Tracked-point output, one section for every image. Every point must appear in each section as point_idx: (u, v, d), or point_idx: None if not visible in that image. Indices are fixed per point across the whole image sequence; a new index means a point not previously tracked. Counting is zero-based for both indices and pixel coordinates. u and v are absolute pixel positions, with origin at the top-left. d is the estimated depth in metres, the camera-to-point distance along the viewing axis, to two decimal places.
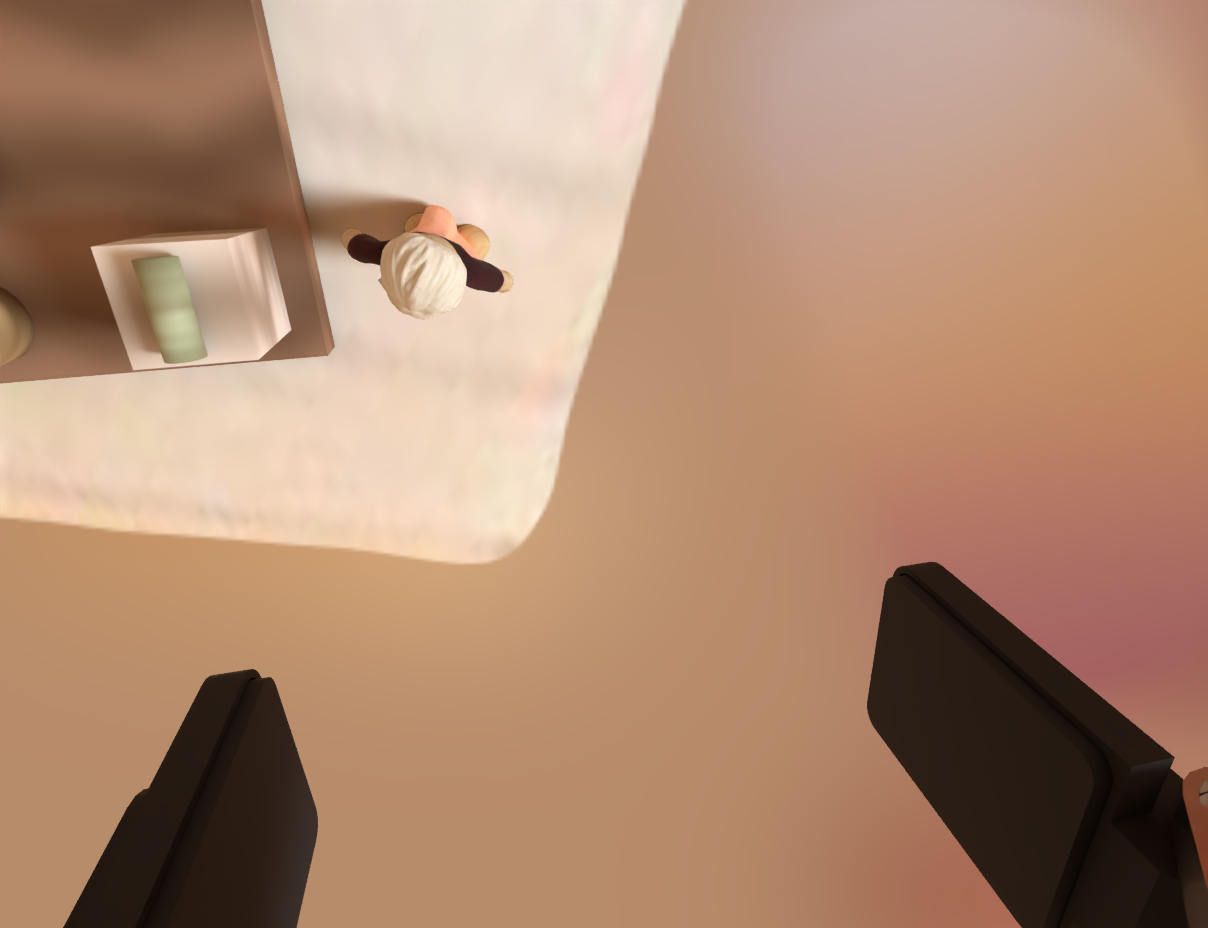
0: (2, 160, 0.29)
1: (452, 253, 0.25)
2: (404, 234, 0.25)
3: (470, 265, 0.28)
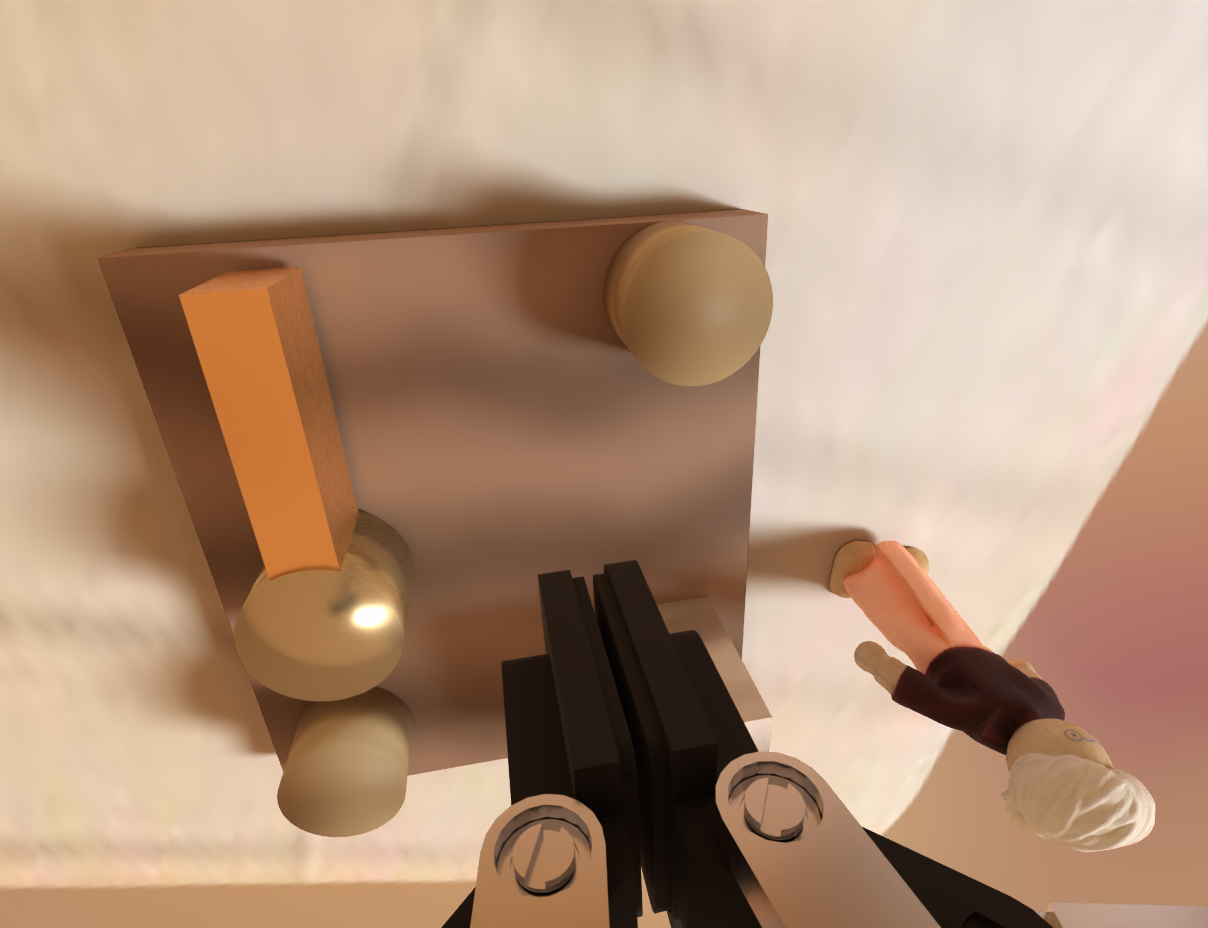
0: (417, 559, 0.22)
1: (1147, 792, 0.18)
2: (1087, 771, 0.17)
3: (1061, 719, 0.21)
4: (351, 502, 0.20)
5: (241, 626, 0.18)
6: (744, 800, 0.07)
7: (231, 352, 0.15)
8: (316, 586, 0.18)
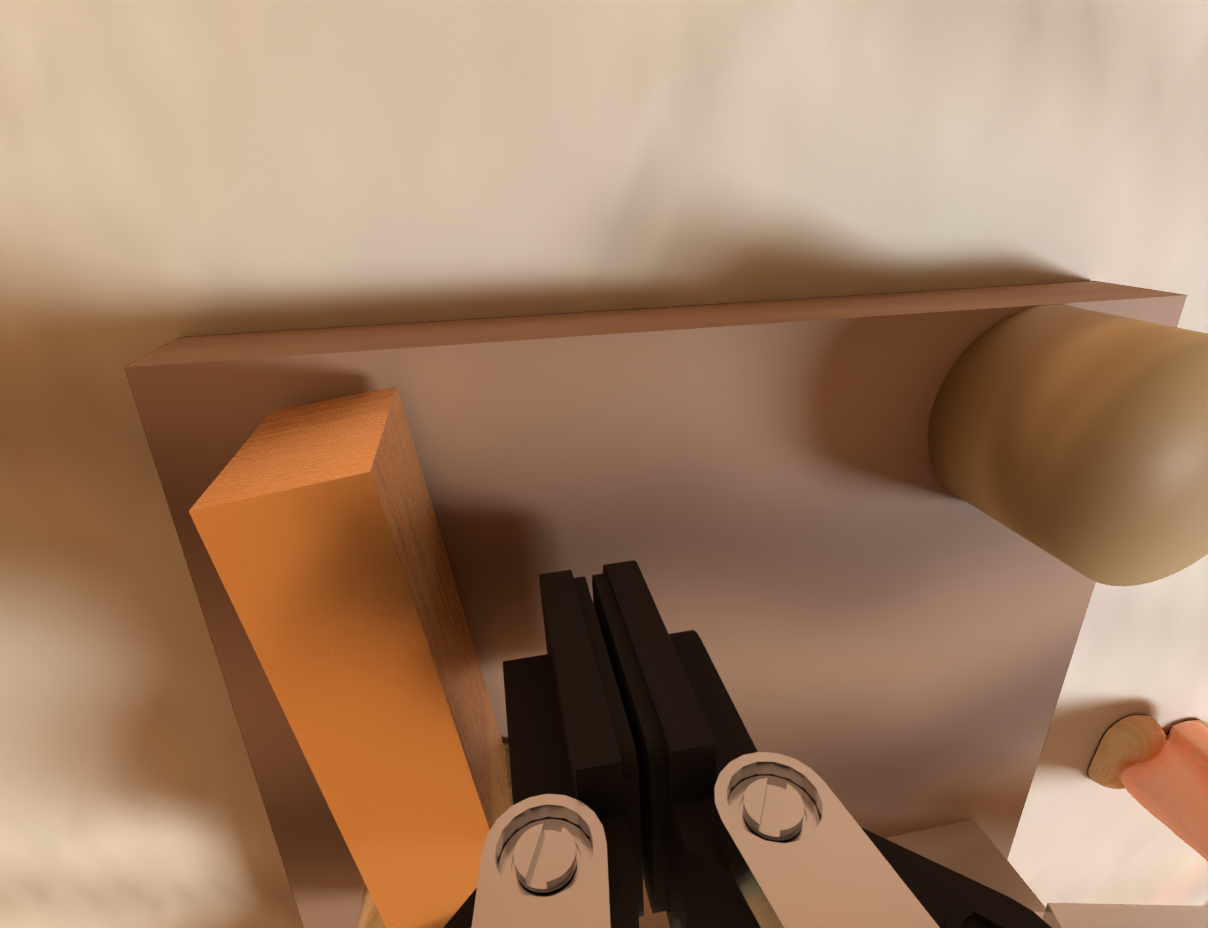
0: None
1: None
2: None
3: None
4: (499, 745, 0.12)
5: None
6: (743, 800, 0.07)
7: (305, 604, 0.07)
8: None
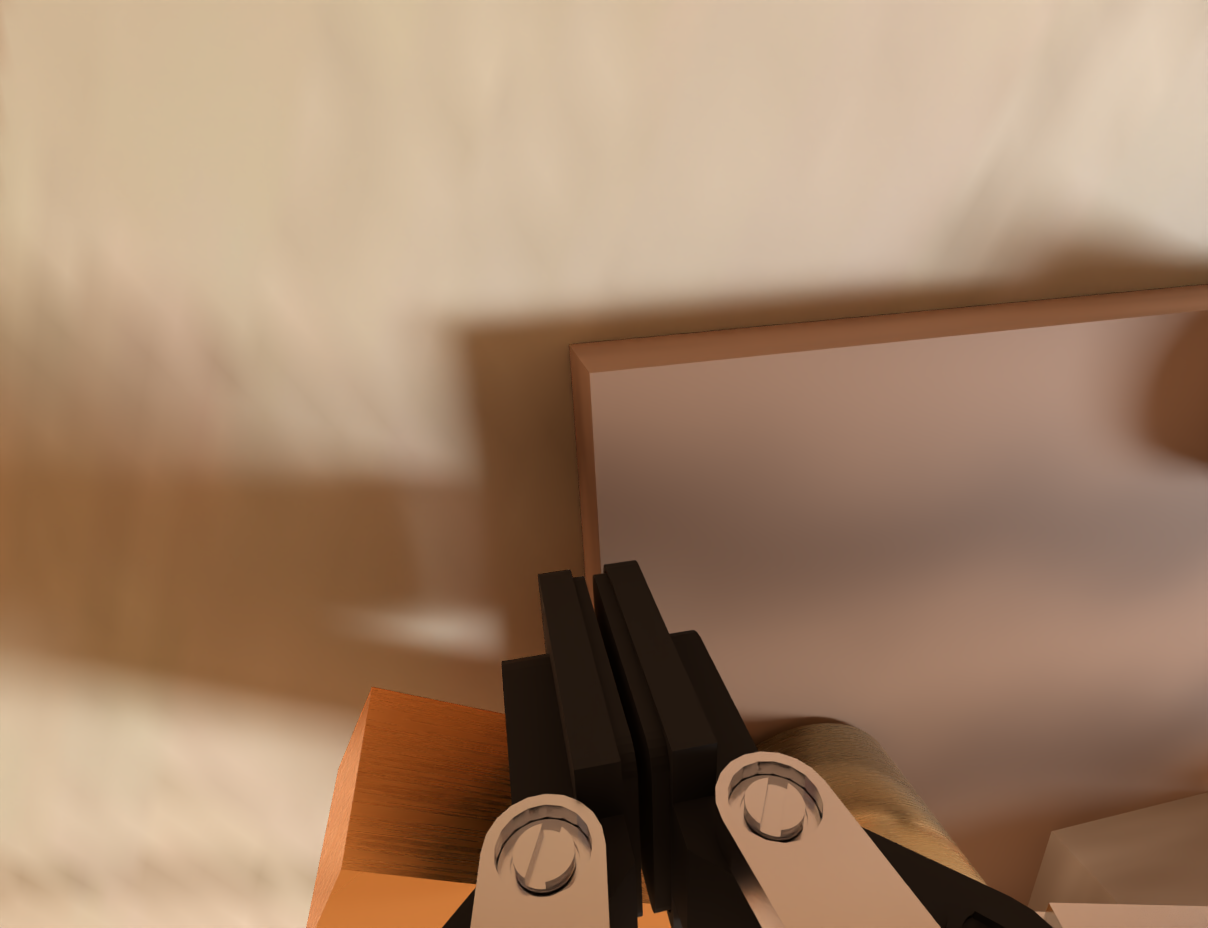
0: None
1: None
2: None
3: None
4: None
5: None
6: (744, 800, 0.07)
7: None
8: None
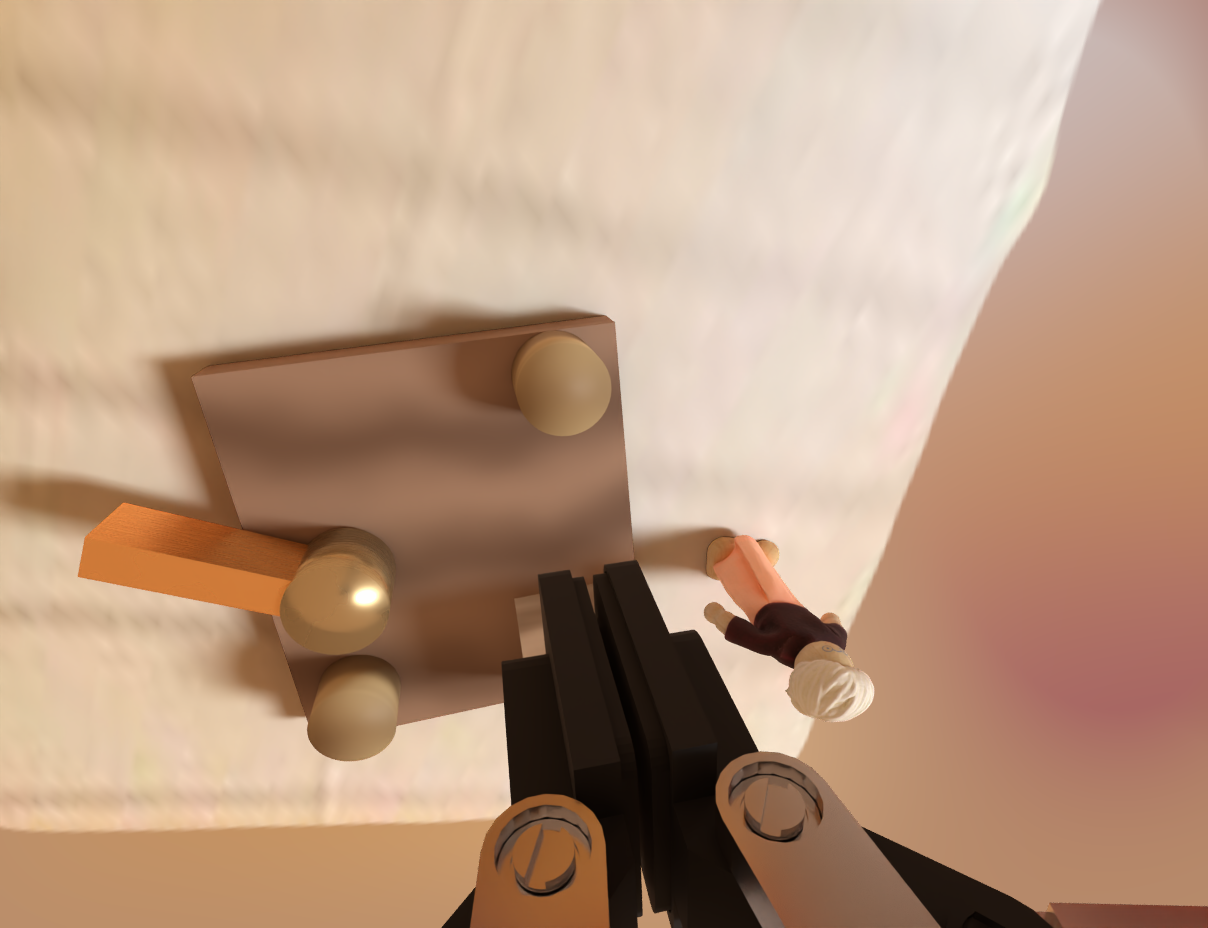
0: (398, 561, 0.32)
1: (867, 679, 0.28)
2: (826, 666, 0.27)
3: (838, 645, 0.31)
4: (289, 546, 0.30)
5: (303, 643, 0.28)
6: (744, 800, 0.07)
7: (120, 569, 0.26)
8: (293, 597, 0.28)
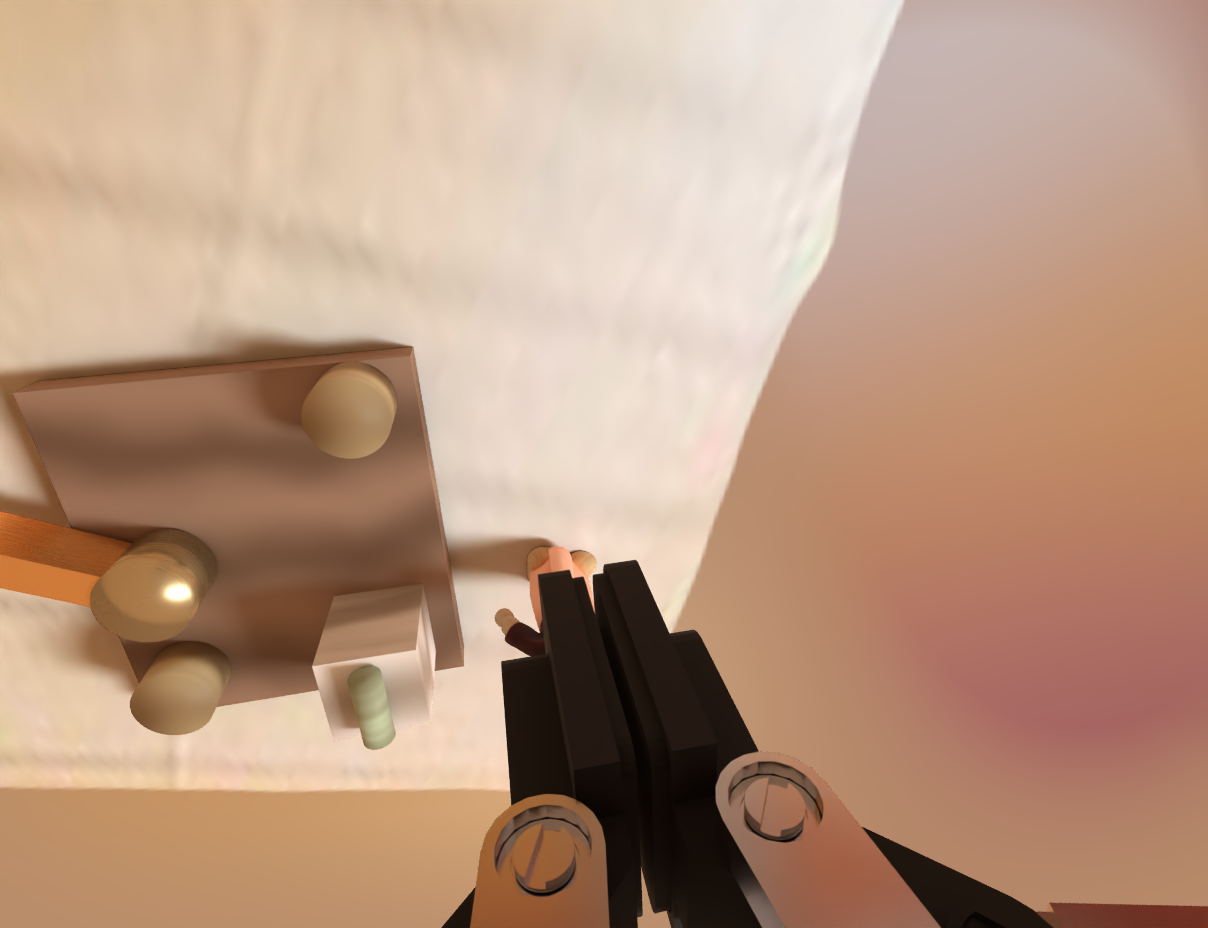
0: (221, 559, 0.36)
1: None
2: None
3: None
4: (111, 544, 0.33)
5: (115, 631, 0.32)
6: (744, 800, 0.07)
7: None
8: (101, 591, 0.31)
